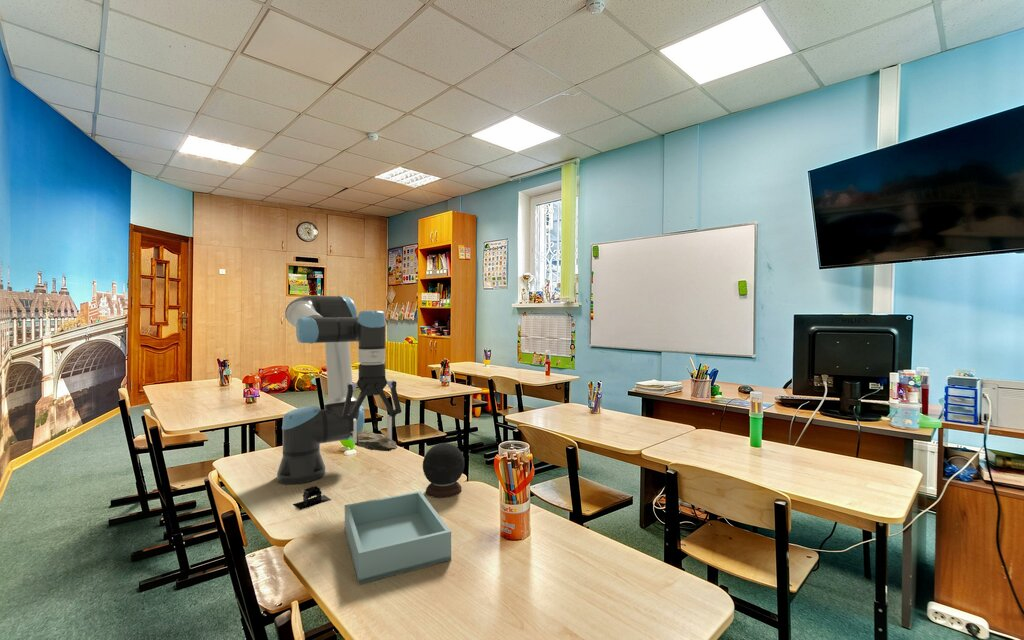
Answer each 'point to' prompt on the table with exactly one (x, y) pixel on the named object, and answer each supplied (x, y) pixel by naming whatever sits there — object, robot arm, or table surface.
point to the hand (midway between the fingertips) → (372, 439)
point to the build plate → (312, 501)
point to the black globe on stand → (443, 470)
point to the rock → (374, 441)
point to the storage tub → (395, 536)
